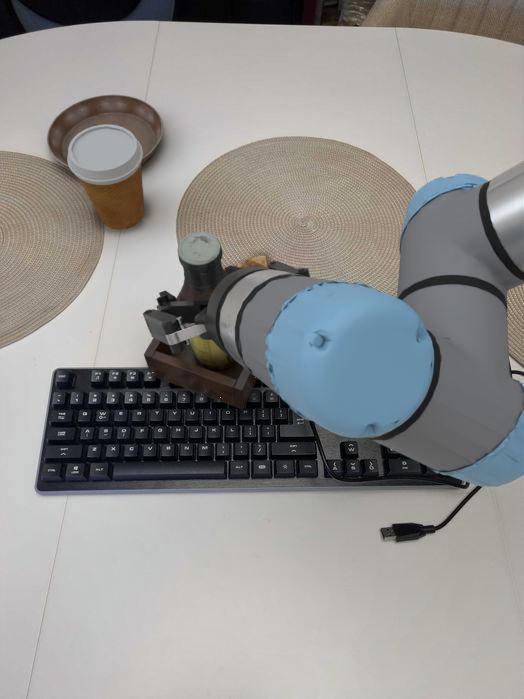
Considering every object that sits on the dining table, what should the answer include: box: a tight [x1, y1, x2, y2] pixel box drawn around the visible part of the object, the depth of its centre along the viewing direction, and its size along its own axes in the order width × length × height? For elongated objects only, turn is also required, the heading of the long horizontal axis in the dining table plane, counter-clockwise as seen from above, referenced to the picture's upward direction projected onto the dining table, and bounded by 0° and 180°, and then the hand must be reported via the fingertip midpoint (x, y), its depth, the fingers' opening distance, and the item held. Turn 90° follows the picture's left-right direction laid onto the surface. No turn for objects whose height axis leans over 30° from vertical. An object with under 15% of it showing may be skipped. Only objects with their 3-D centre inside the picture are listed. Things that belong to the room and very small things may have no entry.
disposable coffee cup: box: [67, 125, 145, 230], centre depth 73 cm, size 10×10×12 cm
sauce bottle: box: [177, 231, 236, 370], centre depth 58 cm, size 6×6×20 cm
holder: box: [143, 290, 258, 411], centre depth 65 cm, size 12×12×6 cm
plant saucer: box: [46, 94, 164, 169], centre depth 84 cm, size 18×18×3 cm
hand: (199, 290), depth 61 cm, fingers open, 7 cm apart
